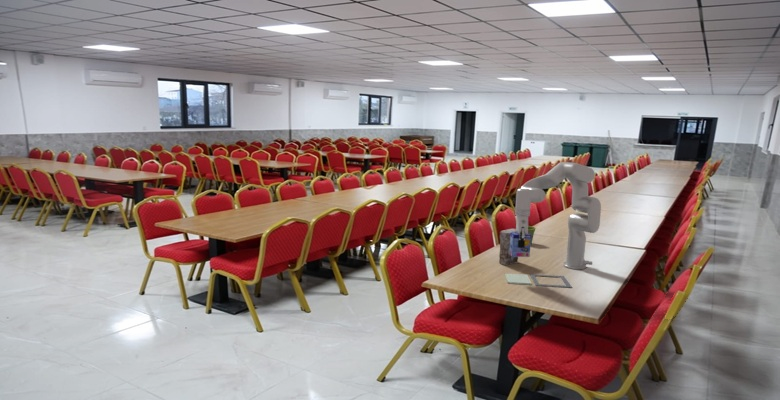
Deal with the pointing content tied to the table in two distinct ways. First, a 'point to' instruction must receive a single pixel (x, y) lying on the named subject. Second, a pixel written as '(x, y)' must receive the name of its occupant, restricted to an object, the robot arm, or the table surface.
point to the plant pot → (531, 231)
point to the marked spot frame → (550, 285)
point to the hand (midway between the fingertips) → (520, 245)
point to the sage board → (518, 279)
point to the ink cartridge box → (514, 248)
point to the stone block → (506, 248)
